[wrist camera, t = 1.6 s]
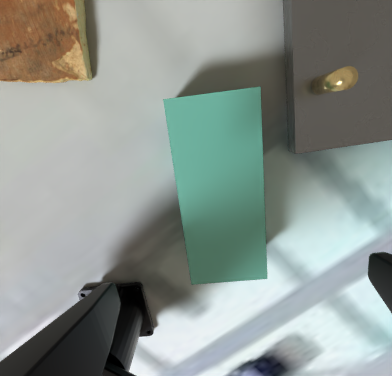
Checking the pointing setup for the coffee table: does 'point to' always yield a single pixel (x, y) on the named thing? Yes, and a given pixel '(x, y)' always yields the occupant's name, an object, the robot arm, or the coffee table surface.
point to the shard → (43, 41)
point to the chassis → (338, 73)
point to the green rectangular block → (220, 183)
